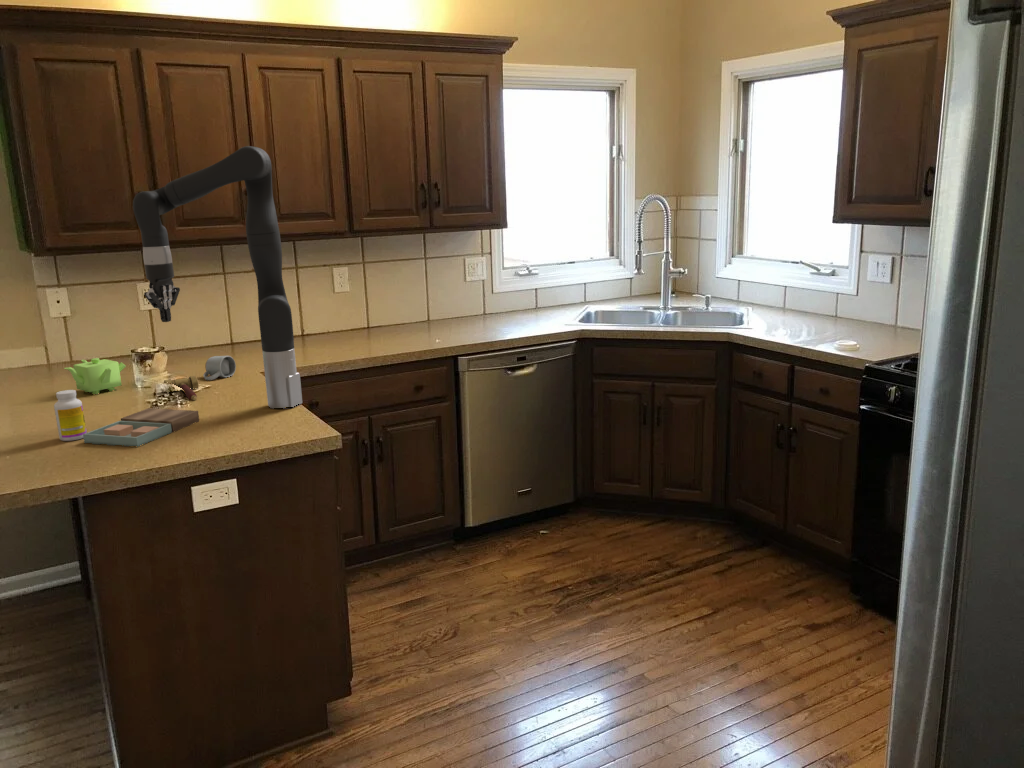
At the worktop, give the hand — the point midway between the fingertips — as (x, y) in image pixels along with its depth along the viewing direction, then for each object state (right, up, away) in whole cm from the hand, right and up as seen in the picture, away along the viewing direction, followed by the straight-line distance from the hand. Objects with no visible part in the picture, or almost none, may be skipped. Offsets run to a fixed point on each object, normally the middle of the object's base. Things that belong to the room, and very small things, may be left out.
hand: (166, 321), depth 239 cm
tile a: (+4, -30, -23) cm, 38 cm away
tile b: (-4, -30, -20) cm, 36 cm away
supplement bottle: (-17, -33, -20) cm, 42 cm away
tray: (-1, -33, -21) cm, 39 cm away
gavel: (-4, -22, +25) cm, 34 cm away
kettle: (-38, -21, +34) cm, 55 cm away
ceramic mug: (-2, -16, +49) cm, 52 cm away
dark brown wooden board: (+3, -30, -10) cm, 32 cm away
